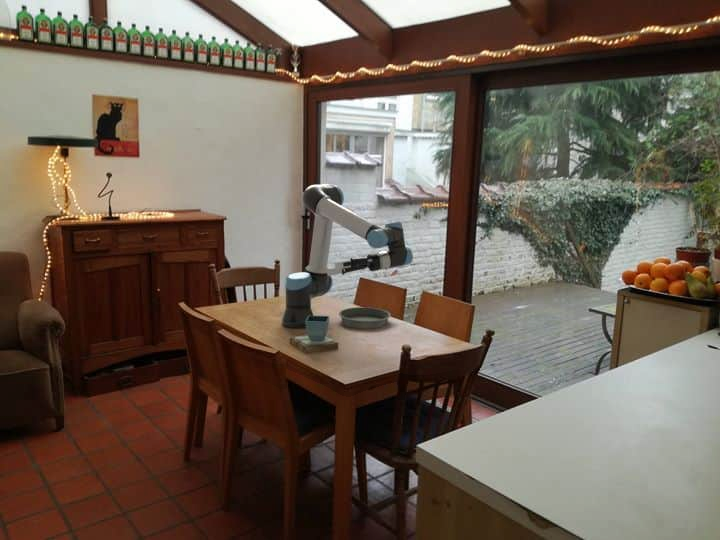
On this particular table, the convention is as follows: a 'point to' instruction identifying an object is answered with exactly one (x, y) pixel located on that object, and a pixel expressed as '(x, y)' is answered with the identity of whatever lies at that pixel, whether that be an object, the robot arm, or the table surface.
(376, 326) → the cake pan
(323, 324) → the flower pot
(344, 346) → the table surface
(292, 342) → the stand
